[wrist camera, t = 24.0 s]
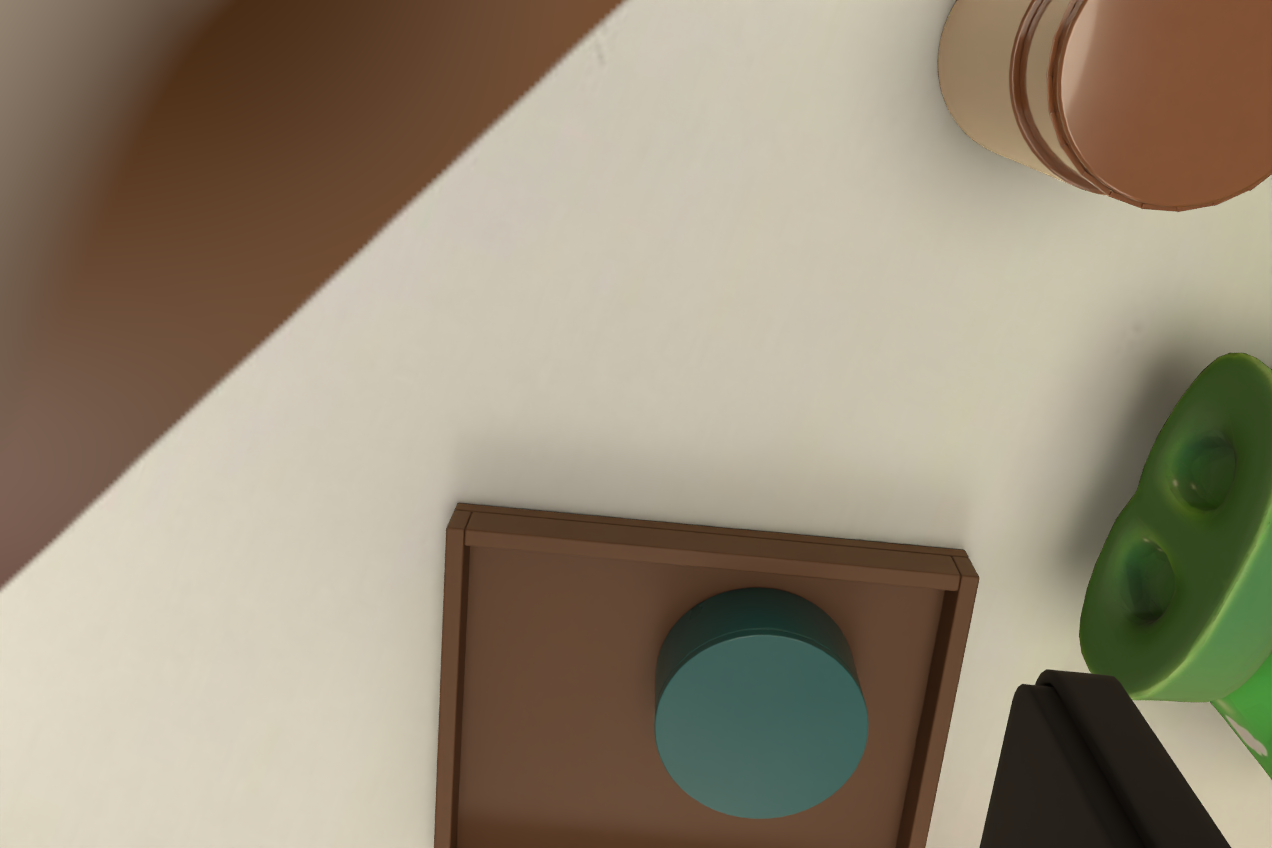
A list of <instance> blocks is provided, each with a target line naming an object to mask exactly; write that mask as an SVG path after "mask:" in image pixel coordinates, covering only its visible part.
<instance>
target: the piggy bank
mask: <svg viewBox="0 0 1272 848" xmlns="http://www.w3.org/2000/svg"><path fill="white" fill-rule="evenodd" d="M1079 638H1080V645H1081V653H1082V655H1083V657H1084V660H1085V662H1086V664H1087V666H1088V669H1089V671H1090V672H1091V673H1092V674H1101V675H1110V676H1114V677H1115V678H1116V679H1117V680H1118V681H1119V682H1120V683H1121V684H1122V686H1123V687H1124V689H1125V690H1126V692H1127V693H1128V695H1129V696H1130V698H1131V699H1132V700H1160V701H1180V702H1209V701H1210V703H1211V704H1212V705H1213V706H1214V707H1215V708H1216V710H1217V711H1218V712H1219V713H1220V714H1221V715H1222V717H1223V718H1224V719H1225V720H1226V722H1227V723H1228V724H1229V725H1230V727H1231V728H1232V729H1233V731H1234V732H1235V733H1236V734H1237V736H1238V737H1239V738H1240V739H1241V741H1242V742H1243V743H1244V745H1245V746H1246V747H1247V748H1248V750H1249V751H1250V752H1251V753H1252V755H1253V756H1254V757H1255V758H1256V760H1257V761H1258V762H1259V764H1260V765H1261V766H1262V767H1263V769H1264V770H1265V771H1266V773H1267V774H1268V775H1269V776H1270V778H1271V779H1272V369H1270V368H1269V367H1268V366H1266V365H1265V364H1264V363H1263V362H1261V361H1260V360H1259V359H1257V358H1255V357H1253V356H1250V355H1248V354H1246V353H1228V354H1226V355H1223V356H1221V357H1218V358H1217V359H1216V360H1215V361H1213V362H1212V363H1211V364H1210V365H1209V366H1207V367H1206V368H1205V369H1204V370H1203V371H1202V372H1201V373H1200V374H1199V376H1198V377H1197V378H1196V379H1195V381H1194V382H1193V383H1192V384H1191V386H1190V387H1189V388H1188V389H1187V390H1186V392H1185V393H1184V395H1183V396H1182V397H1181V399H1180V400H1179V401H1178V403H1177V404H1176V406H1175V408H1174V409H1173V411H1172V413H1171V414H1170V416H1169V418H1168V419H1167V421H1166V423H1165V424H1164V426H1163V428H1162V429H1161V431H1160V433H1159V434H1158V436H1157V438H1156V440H1155V443H1154V445H1153V447H1152V449H1151V451H1150V454H1149V456H1148V458H1147V460H1146V463H1145V465H1144V468H1143V471H1142V475H1141V478H1140V482H1139V485H1138V488H1137V491H1136V492H1135V494H1134V495H1133V497H1132V498H1131V500H1130V501H1129V502H1128V504H1127V505H1126V506H1125V508H1124V509H1123V510H1122V512H1121V513H1120V514H1119V516H1118V517H1117V519H1116V521H1115V523H1114V525H1113V527H1112V529H1111V531H1110V533H1109V535H1108V537H1107V539H1106V541H1105V544H1104V546H1103V548H1102V550H1101V553H1100V555H1099V557H1098V559H1097V562H1096V564H1095V567H1094V570H1093V573H1092V576H1091V579H1090V581H1089V584H1088V587H1087V591H1086V595H1085V600H1084V604H1083V609H1082V613H1081V619H1080V631H1079Z"/></svg>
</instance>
